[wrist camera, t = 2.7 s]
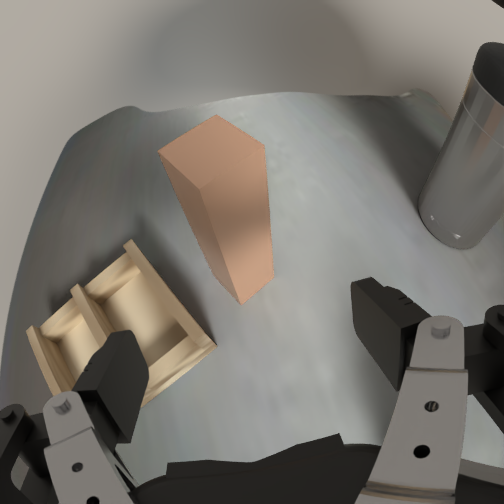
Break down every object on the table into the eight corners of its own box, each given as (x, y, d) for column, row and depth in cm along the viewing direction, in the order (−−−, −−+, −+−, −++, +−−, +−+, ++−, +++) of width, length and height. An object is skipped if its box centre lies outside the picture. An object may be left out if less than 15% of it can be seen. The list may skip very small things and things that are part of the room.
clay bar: (245, 249, 31) (216, 114, 17) (274, 277, 29) (264, 145, 15) (213, 275, 30) (157, 151, 16) (241, 305, 28) (199, 189, 14)
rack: (151, 263, 31) (131, 238, 26) (217, 346, 26) (204, 332, 22) (55, 344, 27) (25, 331, 23) (105, 434, 23) (74, 435, 18)
